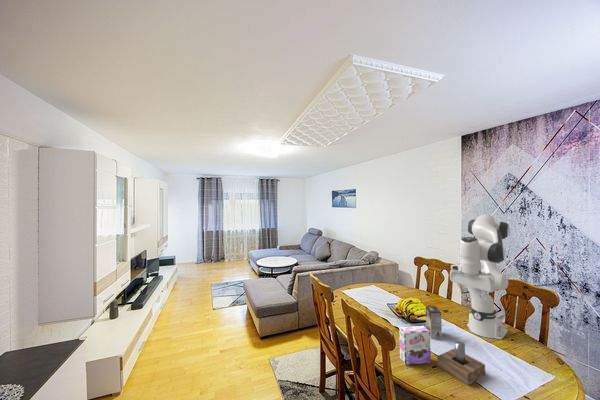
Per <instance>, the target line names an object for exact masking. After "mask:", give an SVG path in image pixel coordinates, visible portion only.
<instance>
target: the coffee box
mask: <svg viewBox="0 0 600 400" xmlns="http://www.w3.org/2000/svg"><path fill="white" fill-rule="evenodd" d="M425 325H426V327H425V328H427V329H428V330H429V331H430V340H431V339H434V340H443V336H442V335H443V332H442V331H443V330H442V327H443V326H442V312H441V311H440V309H439V308H438V307H437V306H436V305H425Z"/></svg>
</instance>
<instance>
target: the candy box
mask: <svg viewBox="0 0 600 400" xmlns="http://www.w3.org/2000/svg"><path fill="white" fill-rule="evenodd" d="M398 329H399V330H398V334H399V336H398V337H399V339H398V340H399V341H398V343H399V359H400V360H401V362H402V363H403V364H404V365H405V366H410V365H426V364H431V363H432V360H431V359H432V357H431V355H432V354H431V352H432V351H431V337H430V331H429V330H428V329H427V328H426V327H425V325H416V326H414V325H413V326H399V327H398Z"/></svg>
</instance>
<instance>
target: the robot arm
mask: <svg viewBox="0 0 600 400" xmlns="http://www.w3.org/2000/svg"><path fill="white" fill-rule="evenodd" d="M466 226H467V227H466V229H467V231H468V233H469V234H470V235H473V236H463V237H461V239H460V241H459V256H460V260H459V263H456V264H452V265H450V272H449V279H450V281H451V282H452V283H455V284H456V285H457V287H458V288H459V293H462V294H463V293H465V288H464V287H463V286H465V287H466V289H467V291H468V293H469V296H470V301H471V306H470V313H469V314H468V323H466V326H467V327H468V328H469V331H470V332H472V333H473V334H475V335H478V336H480V337H483V338H488V339H495V340H503V339H504V337H505V336H506V335H507V334H508V332H509V330H508V329H507V328H505V327H503V326H504V325H503V321H502V319H499V318H498V317H497V316H496V315H497V314H498V312H499V311H498V310H497V309H495V307H494V306H495V305H494V298H493V297H492V296H491V295H490V294H489V293H493V292H495V291H505V290H506V289H508V286H509V279H508V277H507V276H506V275H505V274H504V273H503V272H501V271H500V269H499V268H498V265H497V264H499V263H501V262H503V261H505V259H506V251H505V248H504V244H503V243H504V242H503V240H505V239H507V238H508V237H509V235H510V234H511V228H510V225H509V224H508V222H506V221H505V222H504V221H497V220H496V219H495V217H494V216H493V215H491V214H487V213H483V214H480V215H479V216H477V218H475V219H471V220H469V221H468V223H467V224H466ZM474 236H475V237H474ZM482 267H483V268H482Z"/></svg>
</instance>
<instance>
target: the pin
mask: <svg viewBox="0 0 600 400" xmlns="http://www.w3.org/2000/svg"><path fill="white" fill-rule="evenodd" d="M454 348H455V360H456V362H458V363H459V364H461V365H465V364H466V362H465V354H466V344H465V343H464V342H462V341H459V340H456V341H454Z"/></svg>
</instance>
